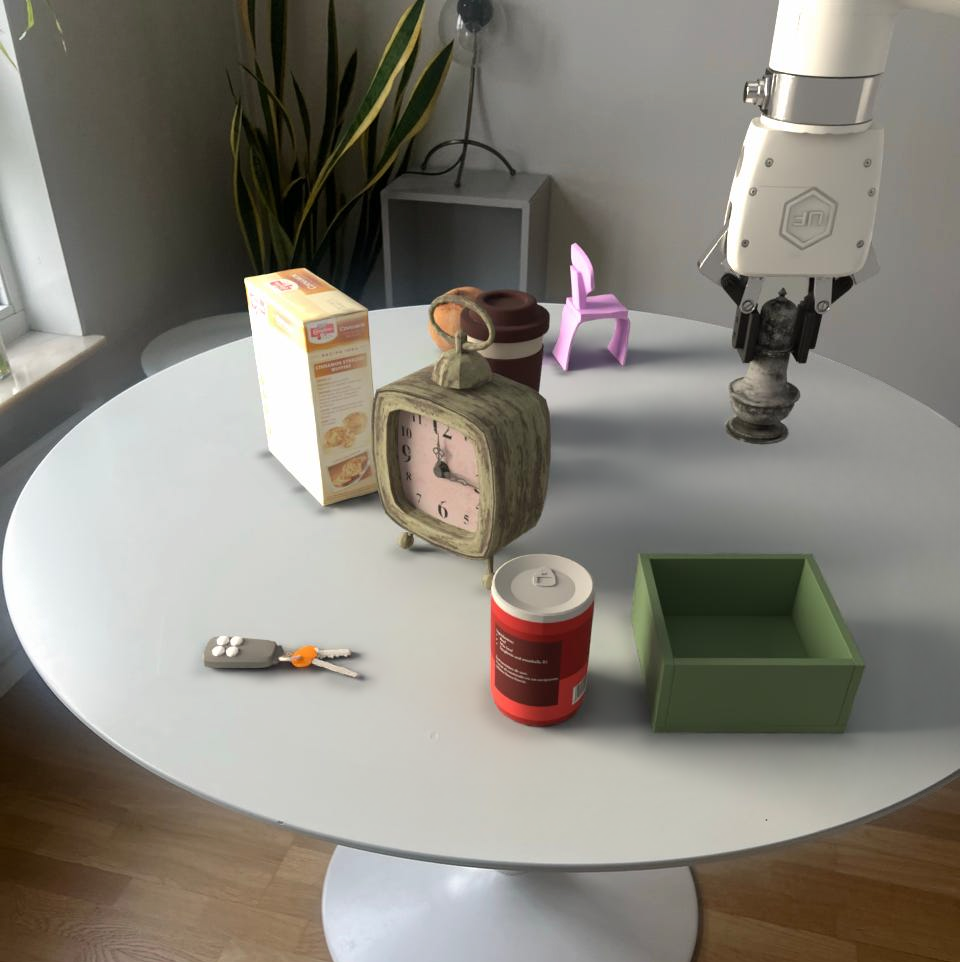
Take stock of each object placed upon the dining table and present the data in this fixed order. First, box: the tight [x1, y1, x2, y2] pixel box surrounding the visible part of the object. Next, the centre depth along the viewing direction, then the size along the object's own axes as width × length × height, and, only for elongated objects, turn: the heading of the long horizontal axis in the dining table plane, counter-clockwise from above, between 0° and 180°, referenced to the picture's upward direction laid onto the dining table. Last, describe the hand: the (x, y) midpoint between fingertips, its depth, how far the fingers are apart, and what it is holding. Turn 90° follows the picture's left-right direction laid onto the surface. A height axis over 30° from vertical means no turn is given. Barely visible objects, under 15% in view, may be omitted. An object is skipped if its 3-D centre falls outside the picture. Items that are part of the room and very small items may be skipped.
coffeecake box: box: [244, 267, 378, 507], centre depth 100 cm, size 15×7×20 cm, turn 32°
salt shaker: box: [724, 287, 801, 446], centre depth 78 cm, size 6×6×12 cm
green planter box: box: [630, 552, 866, 734], centre depth 77 cm, size 15×15×7 cm
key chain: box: [201, 635, 359, 678], centre depth 80 cm, size 13×4×2 cm, turn 86°
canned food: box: [489, 553, 596, 727], centre depth 74 cm, size 8×8×11 cm
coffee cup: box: [460, 289, 551, 394], centre depth 110 cm, size 10×10×15 cm
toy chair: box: [552, 242, 631, 372], centre depth 126 cm, size 8×9×15 cm
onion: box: [428, 286, 485, 353], centre depth 129 cm, size 10×9×10 cm
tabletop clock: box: [371, 293, 552, 591], centre depth 85 cm, size 14×9×25 cm, turn 50°
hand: (770, 354), depth 78 cm, fingers closed on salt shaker, 3 cm apart
